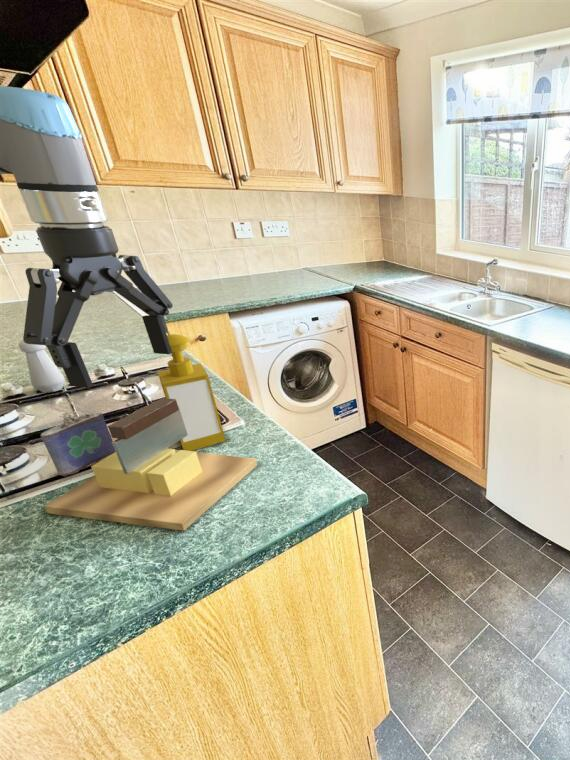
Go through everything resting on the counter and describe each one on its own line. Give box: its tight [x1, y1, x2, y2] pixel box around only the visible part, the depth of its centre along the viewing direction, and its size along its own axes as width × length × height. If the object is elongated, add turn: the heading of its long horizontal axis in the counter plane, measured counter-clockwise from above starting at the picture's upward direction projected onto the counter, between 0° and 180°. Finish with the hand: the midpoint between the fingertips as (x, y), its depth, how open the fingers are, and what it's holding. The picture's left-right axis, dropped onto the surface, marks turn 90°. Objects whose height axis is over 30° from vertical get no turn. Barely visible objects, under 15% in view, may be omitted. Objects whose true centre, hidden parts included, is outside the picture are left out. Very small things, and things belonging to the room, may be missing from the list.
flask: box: [40, 411, 116, 477], centre depth 79 cm, size 9×3×11 cm, turn 164°
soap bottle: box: [157, 330, 227, 451], centre depth 87 cm, size 7×13×24 cm, turn 43°
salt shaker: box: [18, 340, 66, 394], centre depth 103 cm, size 6×6×13 cm
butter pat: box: [147, 449, 202, 496], centre depth 74 cm, size 3×7×4 cm, turn 174°
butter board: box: [44, 449, 258, 532], centre depth 76 cm, size 24×18×2 cm
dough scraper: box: [107, 397, 188, 474], centre depth 71 cm, size 2×12×8 cm, turn 174°
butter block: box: [90, 448, 176, 493], centre depth 75 cm, size 9×7×4 cm
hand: (126, 368), depth 66 cm, fingers open, 13 cm apart
